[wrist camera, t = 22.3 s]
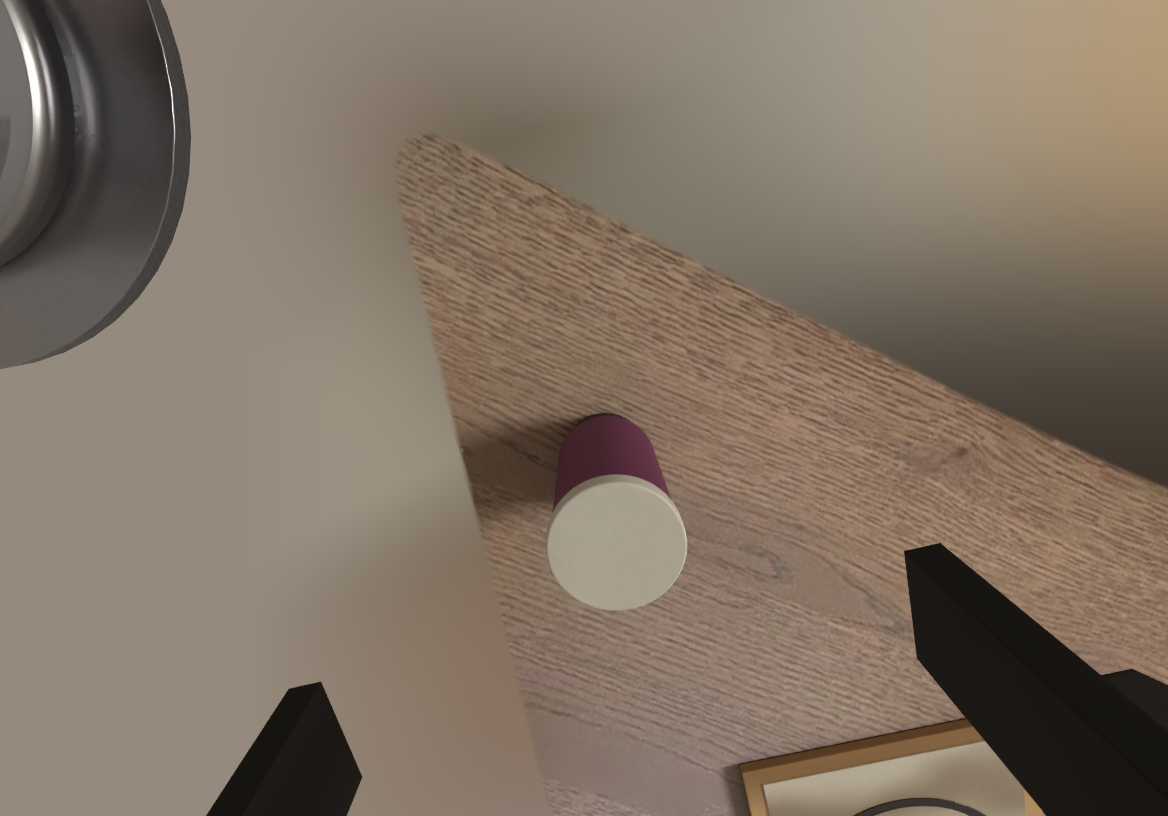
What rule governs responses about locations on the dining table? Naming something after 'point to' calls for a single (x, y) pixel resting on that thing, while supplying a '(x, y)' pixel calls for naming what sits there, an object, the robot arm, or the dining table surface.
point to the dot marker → (613, 518)
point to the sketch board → (890, 778)
